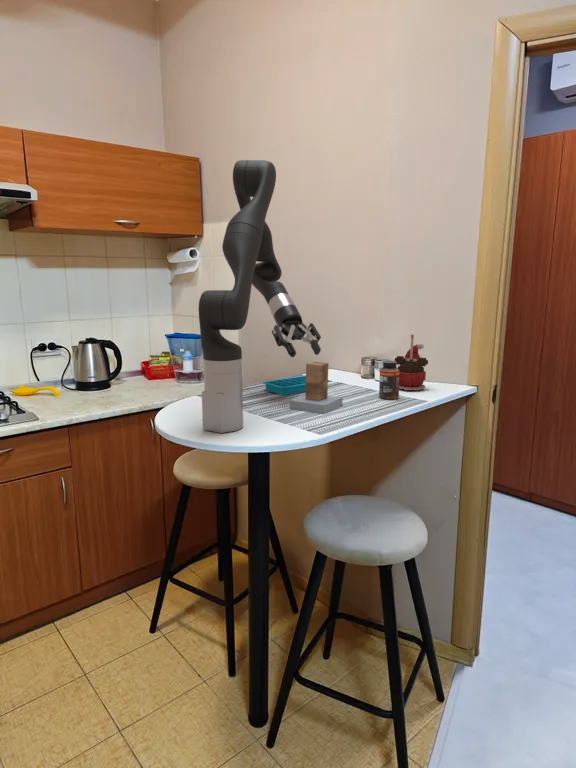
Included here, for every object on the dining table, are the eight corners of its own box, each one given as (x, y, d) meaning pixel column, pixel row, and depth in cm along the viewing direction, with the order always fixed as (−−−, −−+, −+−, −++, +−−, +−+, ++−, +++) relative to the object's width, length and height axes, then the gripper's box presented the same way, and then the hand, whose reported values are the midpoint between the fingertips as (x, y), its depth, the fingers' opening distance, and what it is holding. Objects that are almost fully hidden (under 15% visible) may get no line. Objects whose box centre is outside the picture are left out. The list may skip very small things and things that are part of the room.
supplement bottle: (397, 395, 161) (399, 359, 159) (399, 400, 155) (401, 363, 153) (378, 395, 162) (379, 359, 159) (379, 399, 156) (380, 362, 154)
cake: (390, 390, 169) (392, 335, 166) (397, 384, 178) (400, 332, 174) (422, 393, 165) (425, 337, 161) (429, 387, 173) (432, 334, 169)
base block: (324, 415, 140) (324, 405, 139) (289, 410, 146) (289, 400, 145) (342, 407, 149) (342, 397, 148) (309, 402, 155) (309, 393, 154)
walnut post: (318, 400, 144) (319, 365, 142) (305, 398, 146) (306, 363, 145) (327, 398, 147) (328, 363, 145) (314, 396, 150) (315, 361, 148)
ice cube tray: (261, 391, 170) (261, 382, 169) (307, 383, 182) (307, 374, 182) (282, 397, 161) (282, 387, 160) (330, 388, 173) (330, 379, 173)
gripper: (269, 304, 149) (290, 348, 142) (309, 302, 157) (331, 344, 150) (259, 321, 154) (280, 364, 147) (299, 319, 162) (320, 360, 155)
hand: (306, 354), depth 148 cm, fingers open, 8 cm apart
